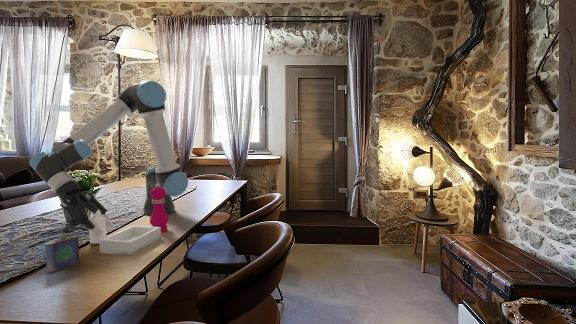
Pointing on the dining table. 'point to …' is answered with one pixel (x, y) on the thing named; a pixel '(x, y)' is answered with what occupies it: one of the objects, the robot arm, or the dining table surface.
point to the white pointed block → (101, 223)
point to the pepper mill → (158, 208)
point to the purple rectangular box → (62, 253)
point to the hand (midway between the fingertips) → (106, 231)
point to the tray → (130, 240)
